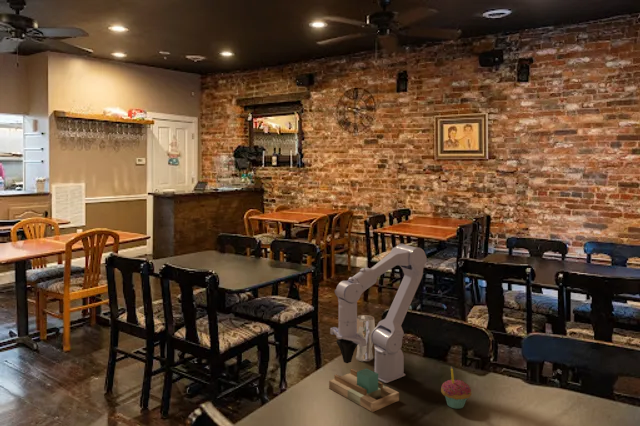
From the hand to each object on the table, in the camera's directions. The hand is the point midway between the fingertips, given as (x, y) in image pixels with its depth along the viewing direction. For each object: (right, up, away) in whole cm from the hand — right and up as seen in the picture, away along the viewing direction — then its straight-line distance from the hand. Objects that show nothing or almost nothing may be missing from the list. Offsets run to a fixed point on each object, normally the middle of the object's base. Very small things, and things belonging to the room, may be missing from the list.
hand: (347, 361), depth 159 cm
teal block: (+6, -6, -7) cm, 11 cm away
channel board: (+4, -8, -5) cm, 11 cm away
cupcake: (+31, -9, -11) cm, 34 cm away
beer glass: (+7, -6, +23) cm, 24 cm away
